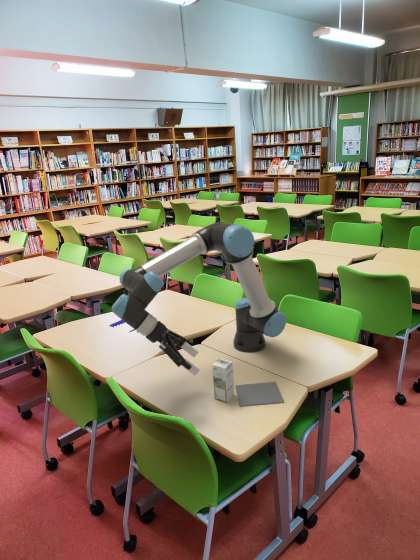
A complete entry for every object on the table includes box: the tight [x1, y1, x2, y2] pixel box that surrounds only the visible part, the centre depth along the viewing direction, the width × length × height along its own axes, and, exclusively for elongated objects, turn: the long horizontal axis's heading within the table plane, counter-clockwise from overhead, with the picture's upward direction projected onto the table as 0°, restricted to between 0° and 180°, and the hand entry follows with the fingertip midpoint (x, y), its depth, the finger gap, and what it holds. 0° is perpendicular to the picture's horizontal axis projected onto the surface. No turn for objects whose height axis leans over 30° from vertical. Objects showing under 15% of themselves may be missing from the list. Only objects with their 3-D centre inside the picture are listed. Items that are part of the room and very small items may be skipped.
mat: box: [234, 381, 285, 407], centre depth 158 cm, size 14×16×1 cm
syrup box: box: [211, 358, 235, 403], centre depth 156 cm, size 6×6×14 cm
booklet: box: [109, 319, 136, 333], centre depth 229 cm, size 12×25×1 cm, turn 52°
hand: (196, 363), depth 153 cm, fingers open, 13 cm apart
